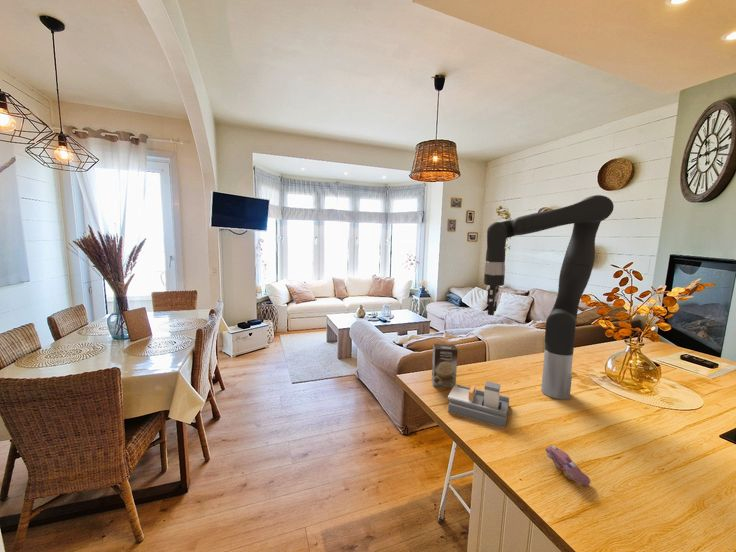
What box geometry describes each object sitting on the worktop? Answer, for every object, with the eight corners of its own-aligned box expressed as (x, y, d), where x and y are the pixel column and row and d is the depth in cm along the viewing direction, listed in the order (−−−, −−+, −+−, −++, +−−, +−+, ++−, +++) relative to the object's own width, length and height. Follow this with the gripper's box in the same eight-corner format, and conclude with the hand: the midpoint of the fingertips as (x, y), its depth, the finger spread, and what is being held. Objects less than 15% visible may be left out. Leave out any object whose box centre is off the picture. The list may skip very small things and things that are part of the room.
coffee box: (433, 386, 121) (434, 348, 119) (431, 379, 127) (432, 343, 125) (456, 388, 120) (457, 349, 118) (453, 380, 126) (454, 344, 124)
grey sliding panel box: (508, 405, 108) (509, 394, 107) (504, 428, 95) (505, 416, 94) (458, 392, 116) (458, 382, 116) (448, 412, 103) (448, 400, 103)
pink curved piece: (548, 464, 82) (539, 444, 81) (562, 455, 82) (553, 436, 81) (578, 494, 72) (569, 472, 71) (593, 485, 73) (585, 463, 71)
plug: (498, 411, 104) (500, 384, 103) (497, 417, 101) (498, 389, 99) (484, 407, 106) (486, 381, 105) (483, 413, 103) (484, 385, 102)
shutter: (475, 393, 110) (476, 383, 110) (471, 405, 102) (471, 394, 102) (453, 387, 114) (454, 378, 113) (447, 398, 106) (448, 388, 106)
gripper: (487, 270, 127) (484, 308, 129) (481, 274, 114) (479, 315, 116) (506, 271, 123) (503, 310, 125) (503, 275, 111) (500, 318, 113)
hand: (492, 312), depth 121 cm, fingers open, 8 cm apart
